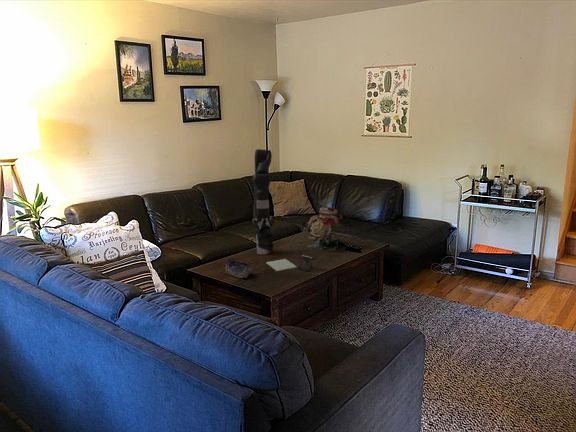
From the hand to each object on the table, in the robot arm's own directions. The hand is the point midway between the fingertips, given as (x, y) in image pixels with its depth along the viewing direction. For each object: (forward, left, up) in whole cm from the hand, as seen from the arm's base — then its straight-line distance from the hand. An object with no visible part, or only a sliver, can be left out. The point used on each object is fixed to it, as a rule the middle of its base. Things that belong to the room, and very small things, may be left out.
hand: (263, 233), depth 285 cm
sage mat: (-7, +14, -25) cm, 30 cm away
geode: (-5, -17, -25) cm, 31 cm away
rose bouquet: (-29, +58, -25) cm, 70 cm away
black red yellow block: (0, 0, -10) cm, 10 cm away
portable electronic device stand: (+7, +25, -25) cm, 36 cm away
